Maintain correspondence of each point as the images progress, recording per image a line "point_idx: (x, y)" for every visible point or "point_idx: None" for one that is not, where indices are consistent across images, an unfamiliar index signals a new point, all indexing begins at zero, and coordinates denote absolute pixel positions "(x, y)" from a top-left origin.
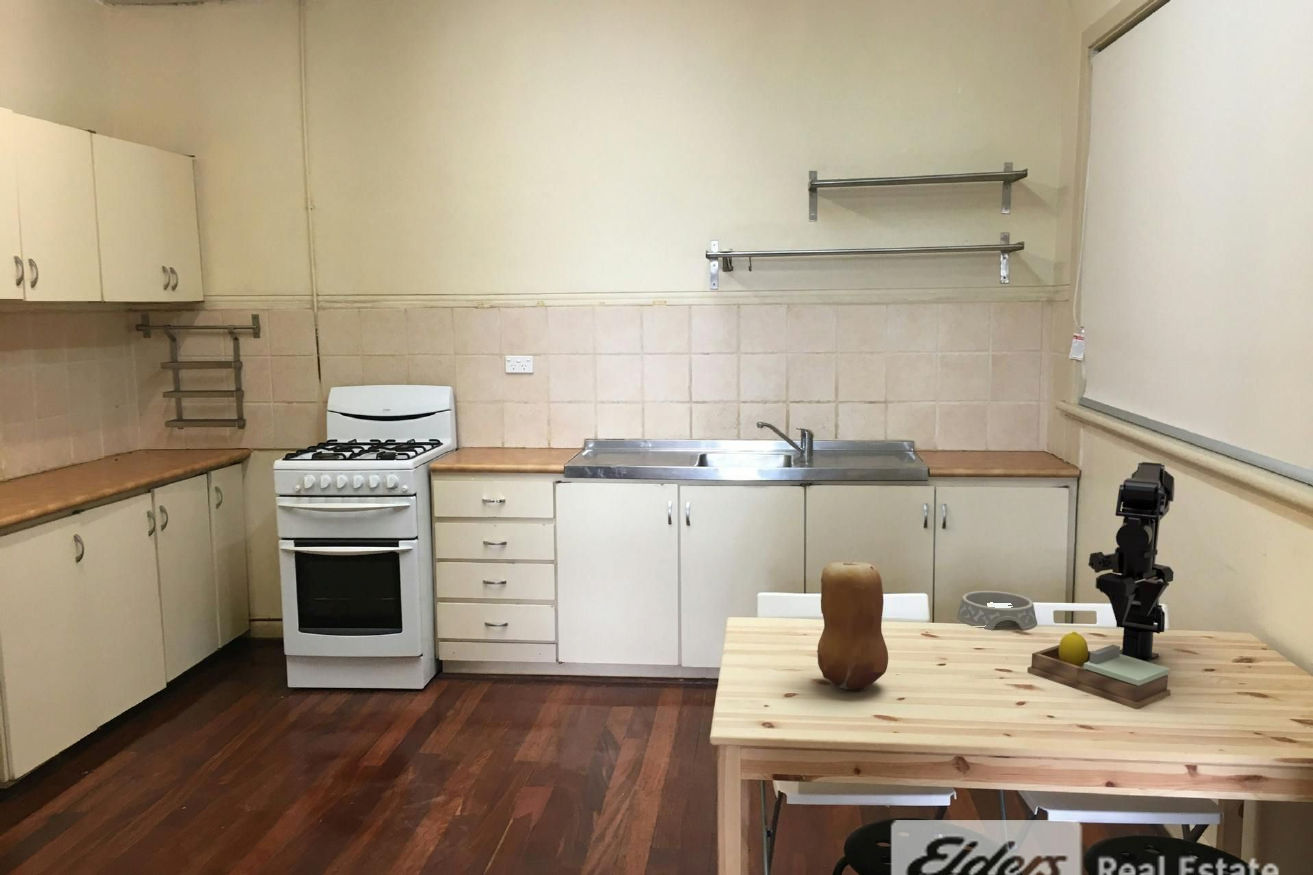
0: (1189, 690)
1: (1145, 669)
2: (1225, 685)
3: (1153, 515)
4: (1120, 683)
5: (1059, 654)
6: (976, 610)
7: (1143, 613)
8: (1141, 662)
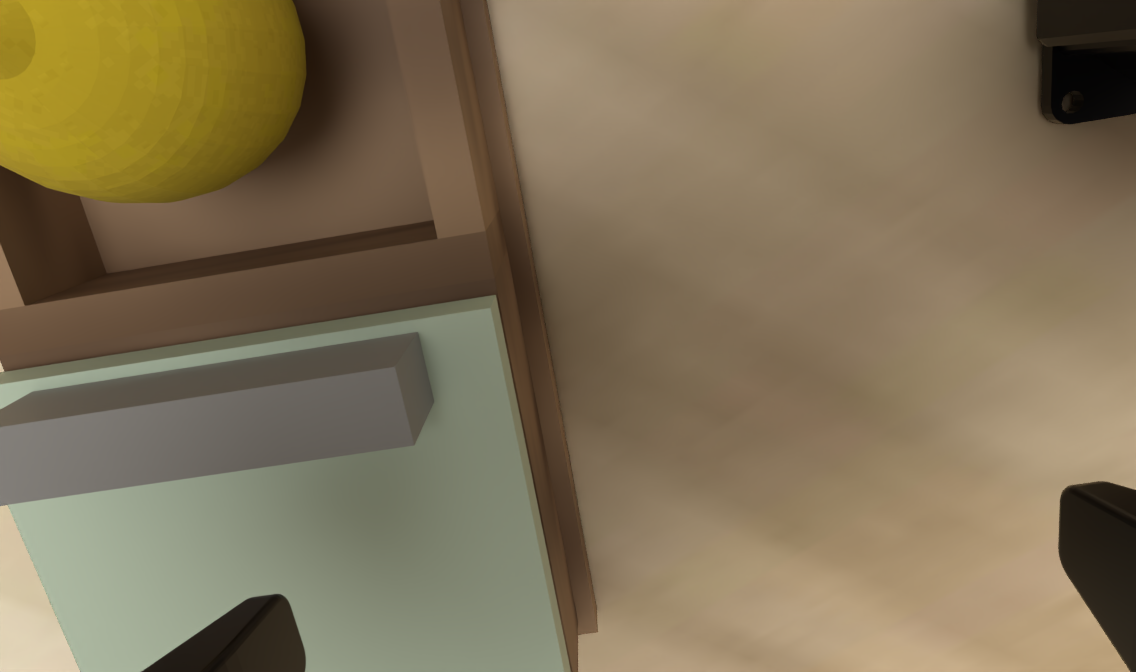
0: (777, 611)
1: None
2: (1064, 648)
3: None
4: None
5: None
6: None
7: (1083, 539)
8: (488, 581)
